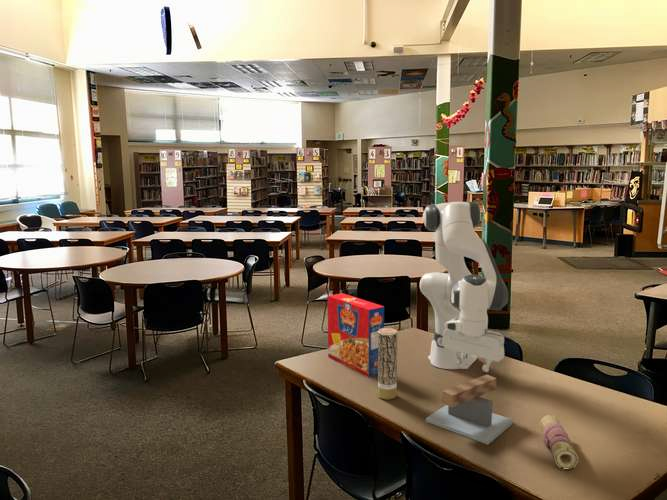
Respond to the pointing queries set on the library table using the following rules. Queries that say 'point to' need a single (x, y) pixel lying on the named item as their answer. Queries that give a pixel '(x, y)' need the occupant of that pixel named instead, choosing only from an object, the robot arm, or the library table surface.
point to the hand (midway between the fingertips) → (471, 367)
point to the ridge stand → (471, 420)
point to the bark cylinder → (387, 363)
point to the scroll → (558, 442)
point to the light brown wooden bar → (468, 390)
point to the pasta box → (354, 332)
